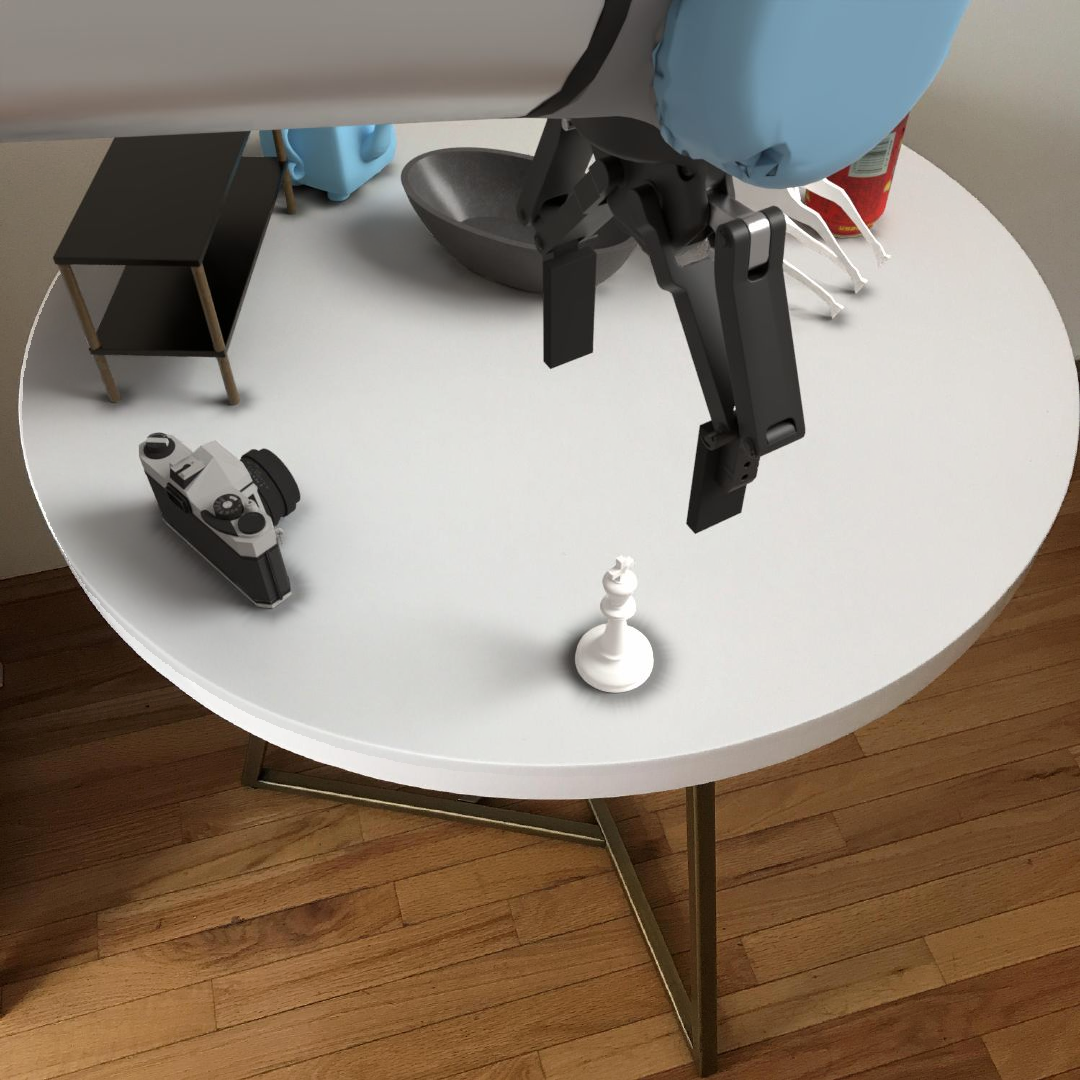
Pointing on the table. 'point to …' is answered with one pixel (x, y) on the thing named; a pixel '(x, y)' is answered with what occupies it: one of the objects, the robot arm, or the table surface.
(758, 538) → the table surface
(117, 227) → the rack
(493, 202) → the bowl
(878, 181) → the soda can
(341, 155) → the teapot
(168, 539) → the table surface
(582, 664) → the chess piece
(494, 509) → the table surface
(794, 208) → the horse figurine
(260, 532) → the camera
